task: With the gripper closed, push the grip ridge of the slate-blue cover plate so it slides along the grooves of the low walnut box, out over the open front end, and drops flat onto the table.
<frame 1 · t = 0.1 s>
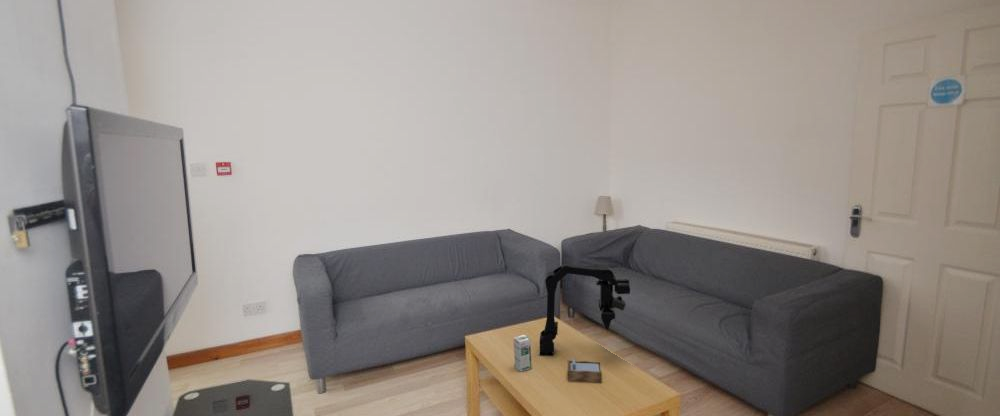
hand: (606, 325, 209), 15 cm above the table, fingers open, 9 cm apart
pencil box: (584, 376, 194), on the table
cover plate: (584, 368, 193), point 3 cm above the table, touching pencil box
syrup box: (523, 368, 203), on the table
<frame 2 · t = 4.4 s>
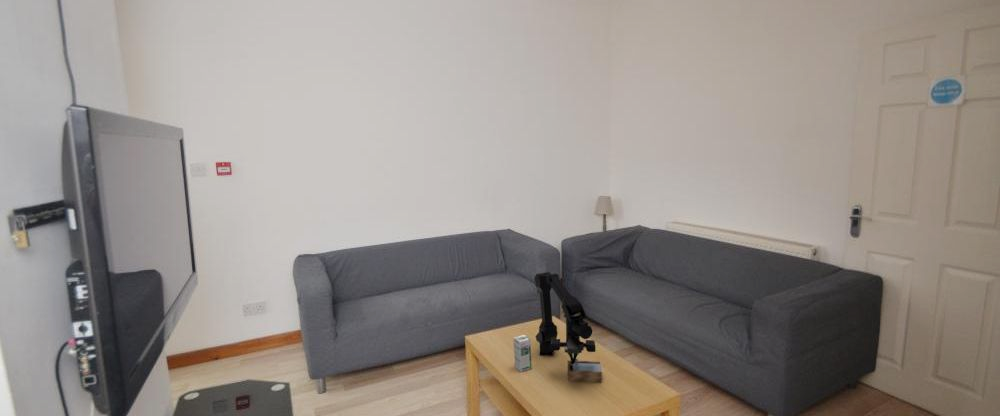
hand: (573, 363, 193), 6 cm above the table, fingers closed
cover plate: (586, 368, 193), point 3 cm above the table, touching gripper
everything else where it was.
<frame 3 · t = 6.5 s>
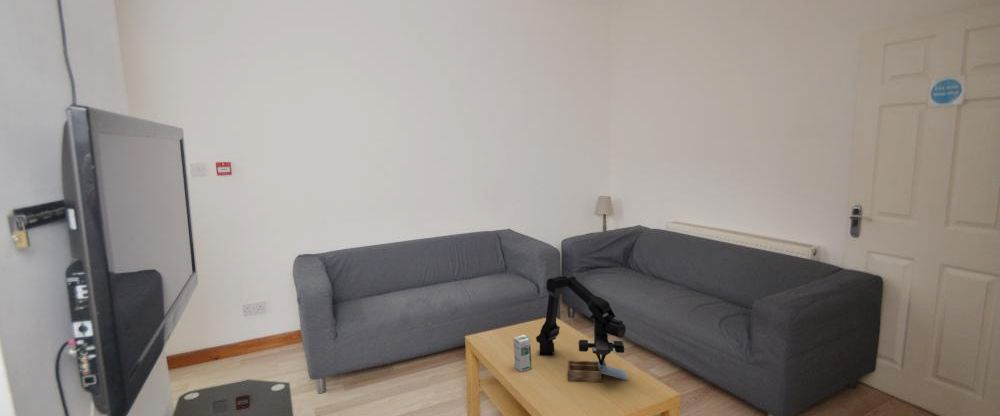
hand: (601, 364, 192), 6 cm above the table, fingers closed
cover plate: (612, 372, 192), point 2 cm above the table, tilted 18°, touching gripper
everything else where it was.
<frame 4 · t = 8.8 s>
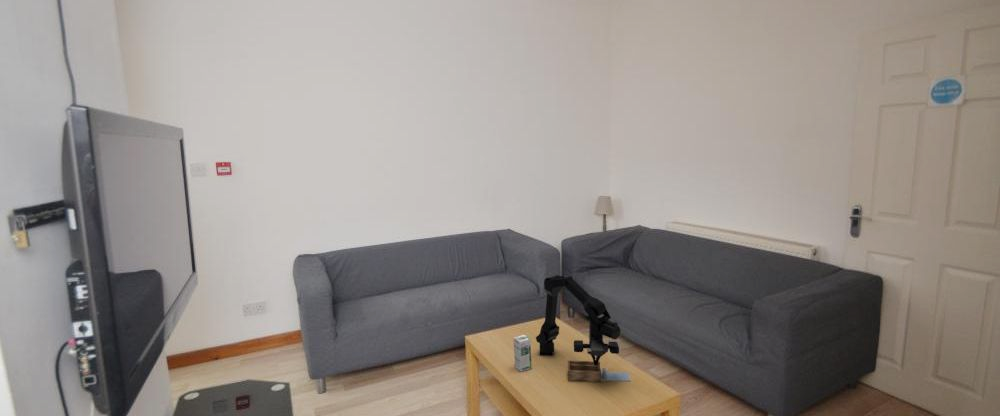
hand: (595, 365, 193), 5 cm above the table, fingers closed
cover plate: (615, 377, 193), on the table
everything else where it was.
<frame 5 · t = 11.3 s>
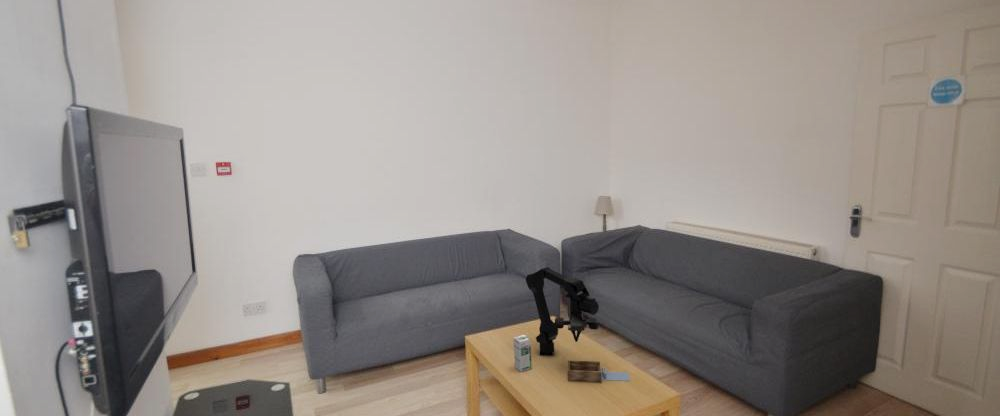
hand: (576, 341, 200), 12 cm above the table, fingers closed
nothing on the table moved.
at the end: cover plate inside the target area (2.5 cm from its centre), on the table; cover plate moved 13.4 cm from its start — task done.
